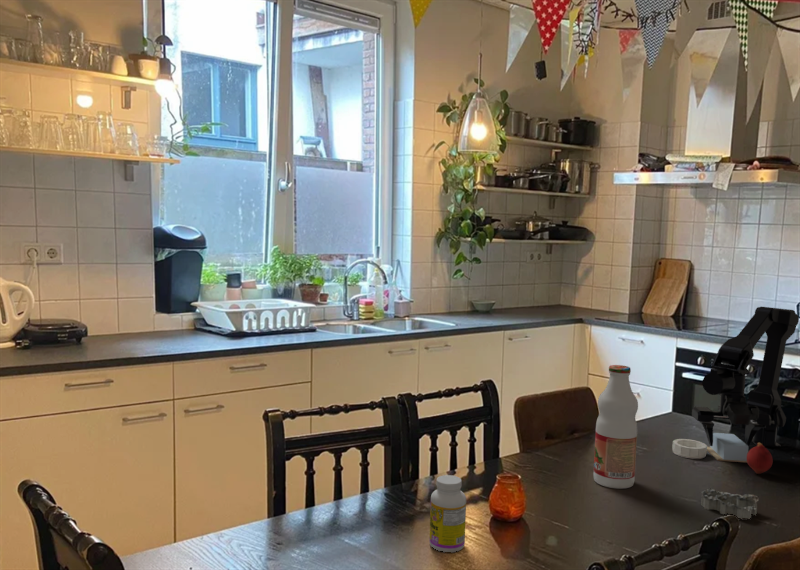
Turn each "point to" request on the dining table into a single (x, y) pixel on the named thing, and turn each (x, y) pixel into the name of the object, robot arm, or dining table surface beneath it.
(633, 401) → the fruit juice
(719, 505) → the egg carton
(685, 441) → the bowl
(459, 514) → the supplement bottle
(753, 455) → the onion
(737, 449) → the light blue block
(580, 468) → the dining table surface
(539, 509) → the dining table surface
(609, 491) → the dining table surface
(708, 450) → the mat
